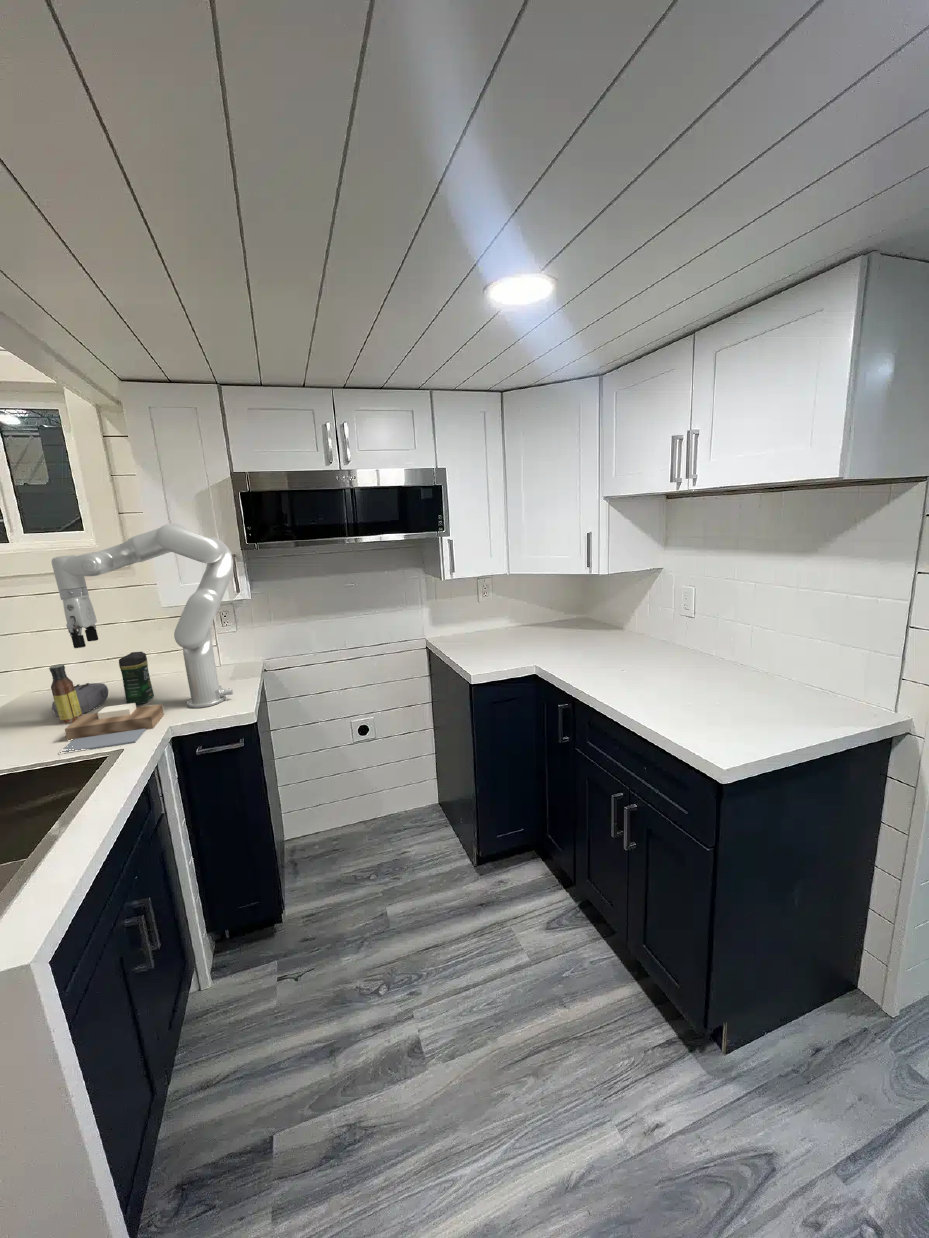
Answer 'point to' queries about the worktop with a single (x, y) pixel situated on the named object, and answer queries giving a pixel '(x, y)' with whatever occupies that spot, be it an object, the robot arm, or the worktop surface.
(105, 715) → the cream tile
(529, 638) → the worktop surface
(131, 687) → the coffee jar
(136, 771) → the worktop surface
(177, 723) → the worktop surface
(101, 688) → the small grey backpack
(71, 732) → the walnut board
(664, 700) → the worktop surface
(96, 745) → the grey mat
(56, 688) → the sauce bottle
